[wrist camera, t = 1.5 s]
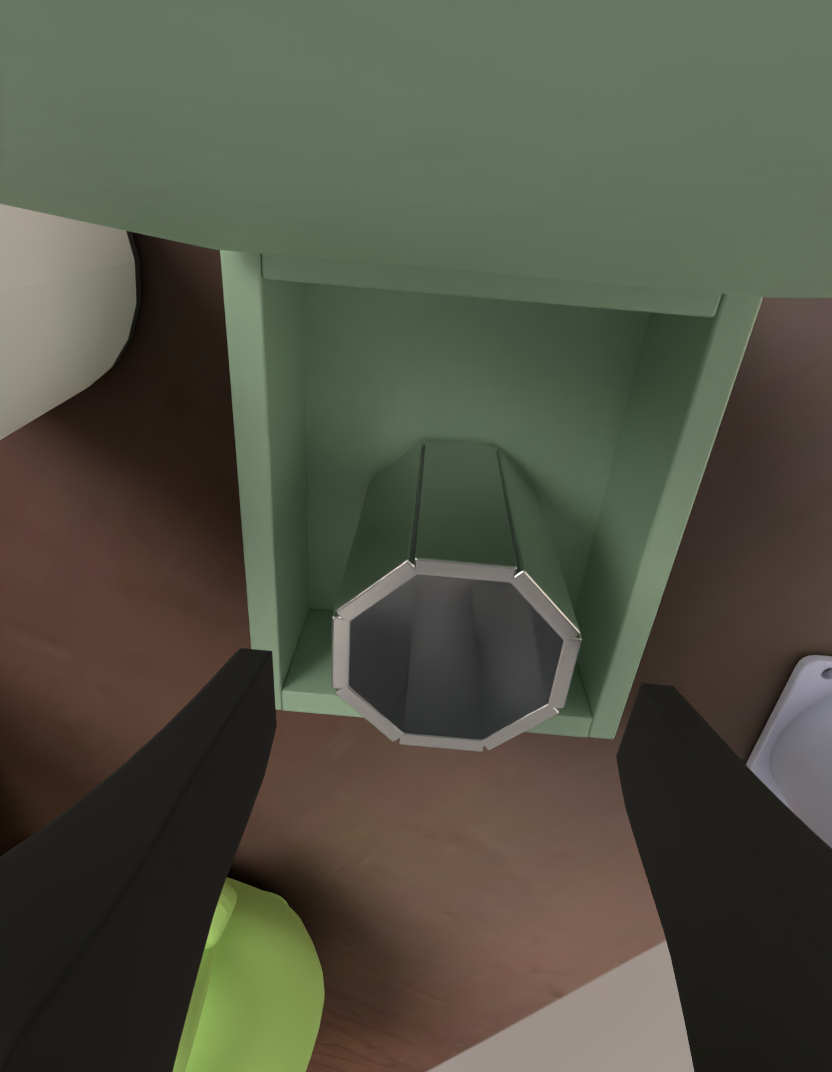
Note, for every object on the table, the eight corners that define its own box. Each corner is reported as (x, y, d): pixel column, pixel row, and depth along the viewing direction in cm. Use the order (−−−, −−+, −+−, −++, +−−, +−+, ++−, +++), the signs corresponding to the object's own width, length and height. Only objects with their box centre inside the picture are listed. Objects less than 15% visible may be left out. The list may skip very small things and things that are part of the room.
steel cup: (549, 446, 18) (600, 574, 12) (521, 593, 20) (550, 758, 14) (371, 430, 18) (332, 551, 12) (365, 579, 20) (330, 739, 14)
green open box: (583, 636, 22) (614, 740, 18) (292, 610, 22) (255, 708, 18) (685, 256, 16) (770, 278, 12) (278, 220, 16) (217, 230, 12)
